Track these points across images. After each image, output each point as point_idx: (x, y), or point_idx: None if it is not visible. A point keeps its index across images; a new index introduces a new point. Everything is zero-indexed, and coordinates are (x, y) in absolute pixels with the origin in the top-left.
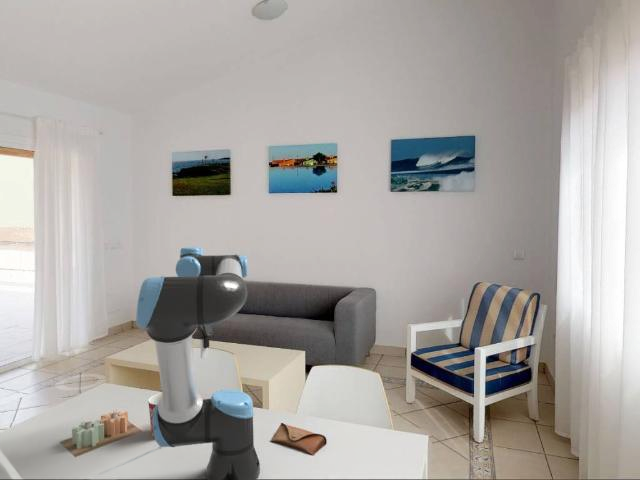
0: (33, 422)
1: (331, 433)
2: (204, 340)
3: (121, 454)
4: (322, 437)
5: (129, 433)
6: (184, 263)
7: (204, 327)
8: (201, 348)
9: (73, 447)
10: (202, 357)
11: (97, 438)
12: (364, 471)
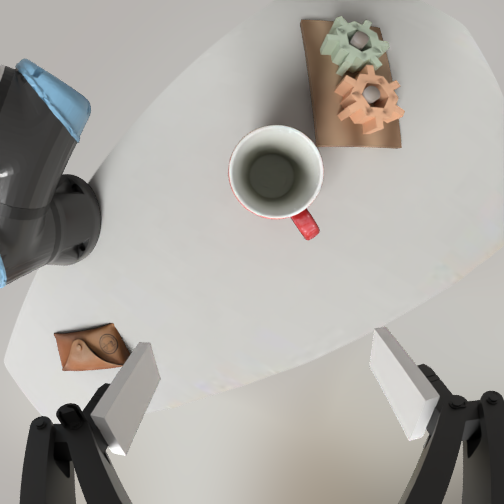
0: (480, 60)
1: (90, 390)
2: (90, 415)
3: (264, 83)
4: (62, 366)
5: (326, 119)
6: None
7: (26, 471)
8: (121, 373)
9: None
10: (137, 345)
11: (334, 57)
12: (14, 341)
